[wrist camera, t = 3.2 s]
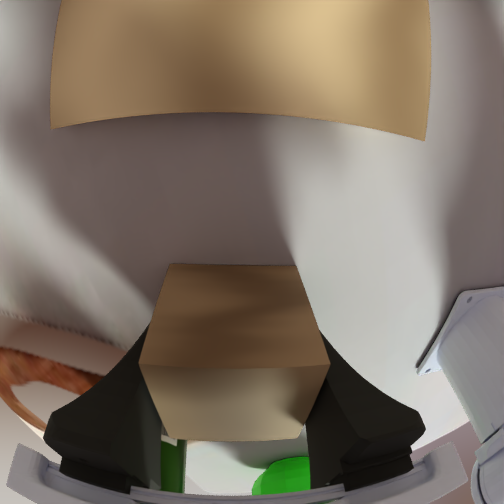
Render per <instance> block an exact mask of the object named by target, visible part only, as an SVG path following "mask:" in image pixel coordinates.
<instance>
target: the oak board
mask: <svg viewBox="0 0 504 504" xmlns="http://www.w3.org/2000/svg"><path fill="white" fill-rule="evenodd" d="M430 78H431V31H430V15H429V3H428V0H62V1H61V5H60V10H59V15H58V20H57V26H56V33H55V40H54V47H53V57H52V68H51V86H50V126H51V129H56V128H60V127H65V126H70V125H75V124H81V123H86V122H92V121H99V120H106V119H113V118H121V117H130V116H140V115H151V114H166V113H189V112H235V113H258V114H273V115H285V116H295V117H304V118H312V119H320V120H327V121H334V122H340V123H346V124H352V125H357V126H362V127H367V128H372V129H377V130H382V131H386V132H390V133H395V134H399V135H403V136H407V137H411V138H414V139H418V140H422V141H425V135H426V127H427V118H428V108H429V96H430Z"/></svg>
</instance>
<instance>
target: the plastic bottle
mask: <svg viewBox="0 0 504 504" xmlns="http://www.w3.org/2000/svg"><path fill="white" fill-rule="evenodd" d="M304 490H310V465H309V457H294V458H286V459H283V460H280V461H276V462H274V463H272V464H271V465H270V466H269V468H268V469H267V470H266V471H265V472H264V473H263V474H261V475H260V476H259V477H258V478H257V480H256V481H255V483H254V485H253V488H252V495H268V494H280V493H289V492H297V491H304ZM330 502H333V501H330ZM326 503H329V502H326ZM320 504H325V503H320Z"/></svg>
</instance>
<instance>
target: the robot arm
mask: <svg viewBox="0 0 504 504" xmlns="http://www.w3.org/2000/svg"><path fill="white" fill-rule="evenodd" d="M149 325H150V324H149ZM149 325H148V326H147V328H146V329H145V331H144V332H143V333H142V335H141V336H140V337H139V339H138V340H137V341H136V342H135V344H134V345H133V346H132V348H131V349H130V350H129V351H128V352H127V354H126V355H125V356H124V357H123V358H122V360H120V362H119V363H118V364H117V365H116V366H115V367H114V368H113V369H112V370H111V371H110V372H109V373H108V374H107V375H106V376H105V377H104V378H102V379H101V380H100V381H99V382H98V383H97V384H95V385H94V386H93V387H92V388H91V389H89V390H88V391H86V392H85V393H84V394H82V395H81V396H79V397H78V398H77V399H75V400H74V401H72V402H70V403H69V404H67V405H65V406H63V407H62V408H60V409H58V410H56V411H54V412H52V414H51V416H50V418H49V421H48V424H47V427H46V430H45V433H44V436H43V439H44V441H45V443H46V444H47V445H48V446H50V447H51V448H52V449H53V450H54V451H56V452H57V453H58V454H59V455H61V456H62V460H61V464H57V463H54V462H52V461H49V460H48V459H47V458H46V457H45V456H43V455H42V454H40V453H39V452H37V451H35V450H32V449H30V448H28V447H26V446H24V445H22V444H20V443H19V444H18V445H17V449H16V451H15V455H14V458H13V461H12V465H11V468H10V472H9V476H8V480H7V487H9V488H11V489H12V490H14V491H16V492H17V493H19V494H21V495H22V496H24V497H26V498H28V499H30V500H31V501H33V502H35V503H37V504H139V503H143V504H320V503H325V504H429V503H431V502H433V501H435V500H437V499H439V498H440V497H442V496H444V495H446V494H447V493H449V492H451V491H452V490H454V489H456V488H458V487H459V486H461V485H463V484H464V483H466V482H467V481H468V478H467V475H466V472H465V470H464V467H463V465H462V462H461V460H460V457H459V455H458V452H457V450H456V448H455V445H454V443H453V441H451V442H449V443H446V444H444V445H442V446H440V447H438V448H436V449H434V450H432V451H431V452H429V453H428V454H426V455H425V456H424V457H423V458H421V459H418V460H416V461H414V462H412V461H411V458H410V454H411V453H412V449H411V447H410V446H411V445H412V444H413V443H414V442H416V441H417V440H418V439H419V438H420V437H421V436H422V435H423V434H424V432H425V430H426V428H425V425H424V423H423V421H422V418H421V416H420V414H419V412H418V411H416V410H414V409H412V408H410V407H408V406H406V405H404V404H402V403H400V402H398V401H396V400H395V399H393V398H391V397H389V396H388V395H386V394H385V393H383V392H382V391H380V390H379V389H377V388H376V387H375V386H373V385H372V384H371V383H369V382H368V381H367V380H365V379H364V378H363V377H362V376H361V375H360V374H358V373H357V372H356V371H355V370H354V369H353V368H352V367H351V366H350V365H349V364H348V363H347V362H346V361H345V360H344V359H343V358H342V357H341V356H340V354H339V353H338V352H337V351H336V350H335V349H334V348H333V346H332V345H331V344H330V343H329V342H328V340H327V339H326V338H325V337H324V335H323V334H322V333H321V331H320V330H319V331H320V334H321V337H322V340H323V343H324V346H325V349H326V352H327V355H328V358H329V361H330V367H329V369H328V372H327V374H326V377H325V379H324V382H323V384H322V386H321V389H320V391H319V393H318V396H317V398H316V400H315V402H314V405H313V407H312V409H311V411H310V413H309V416H308V418H307V420H306V422H305V425H306V433H307V442H308V452H309V465H310V490H304V491H297V492H289V493H280V494H268V495H249V496H213V495H195V494H183V493H174V492H166V491H159V490H160V489H161V466H160V464H161V432H162V420H161V418H160V416H159V413H158V411H157V409H156V407H155V404H154V402H153V399H152V397H151V395H150V392H149V390H148V387H147V385H146V382H145V380H144V377H143V374H142V372H141V369H140V366H139V359H140V356H141V352H142V349H143V345H144V342H145V339H146V335H147V332H148V329H149ZM439 370H443V372H444V374H445V375H446V377H447V379H448V381H449V382H450V384H451V386H452V388H453V390H454V391H455V393H456V395H457V397H458V399H459V401H460V403H461V404H462V406H463V408H464V410H465V412H466V414H467V416H468V418H469V420H470V422H471V424H472V426H473V428H474V430H475V432H476V434H477V437H478V439H479V441H480V443H481V444H483V443H485V442H486V443H485V444H483V445H482V446H481V447H480V448H479V449H478V450H476V451H475V455H476V457H477V460H476V462H475V464H474V467H473V470H472V476H471V493H472V497H473V500H474V503H475V504H504V286H502V287H495V288H487V289H478V290H469V291H464V292H462V293H461V294H460V295H459V296H458V298H457V300H456V302H455V304H454V306H453V308H452V310H451V312H450V314H449V316H448V318H447V320H446V322H445V324H444V326H443V328H442V329H441V331H440V333H439V335H438V337H437V338H436V340H435V342H434V343H433V345H432V347H431V348H430V350H429V352H428V353H427V355H426V357H425V358H424V360H423V361H422V363H421V364H420V366H419V368H418V369H417V371H416V372H417V374H418V375H419V376H421V375H425V374H428V373H432V372H435V371H439ZM335 500H336V501H335ZM330 501H333V502H330ZM137 502H138V503H137ZM326 502H329V503H326Z"/></svg>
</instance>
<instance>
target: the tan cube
mask: <svg viewBox="0 0 504 504" xmlns="http://www.w3.org/2000/svg"><path fill="white" fill-rule="evenodd" d="M139 366H140V369H141V372H142V374H143V377H144V380H145V382H146V385H147V387H148V390H149V392H150V395H151V397H152V399H153V402H154V404H155V407H156V409H157V411H158V413H159V416H160V418H161V420H162V422H163V424H164V427H165V429H166V431H167V433H168V435H169V437H170V438H173V439H184V440H198V441H267V440H282V439H293V438H298V436H299V434H300V432H301V430H302V428H303V426H304V424H305V422H306V420H307V418H308V416H309V413H310V411H311V409H312V407H313V405H314V402H315V400H316V398H317V396H318V393H319V391H320V389H321V386H322V384H323V382H324V379H325V377H326V374H327V372H328V369H329V367H330V361H329V358H328V355H327V352H326V349H325V346H324V343H323V340H322V337H321V334H320V331H319V328H318V325H317V322H316V319H315V317H314V314H313V311H312V308H311V305H310V302H309V299H308V297H307V294H306V291H305V288H304V286H303V283H302V280H301V277H300V275H299V272H298V269H297V266H263V265H203V264H170V265H169V268H168V271H167V273H166V276H165V279H164V282H163V285H162V288H161V291H160V294H159V297H158V300H157V303H156V306H155V309H154V312H153V316H152V319H151V322H150V325H149V329H148V332H147V335H146V339H145V342H144V345H143V349H142V352H141V356H140V359H139Z"/></svg>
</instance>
